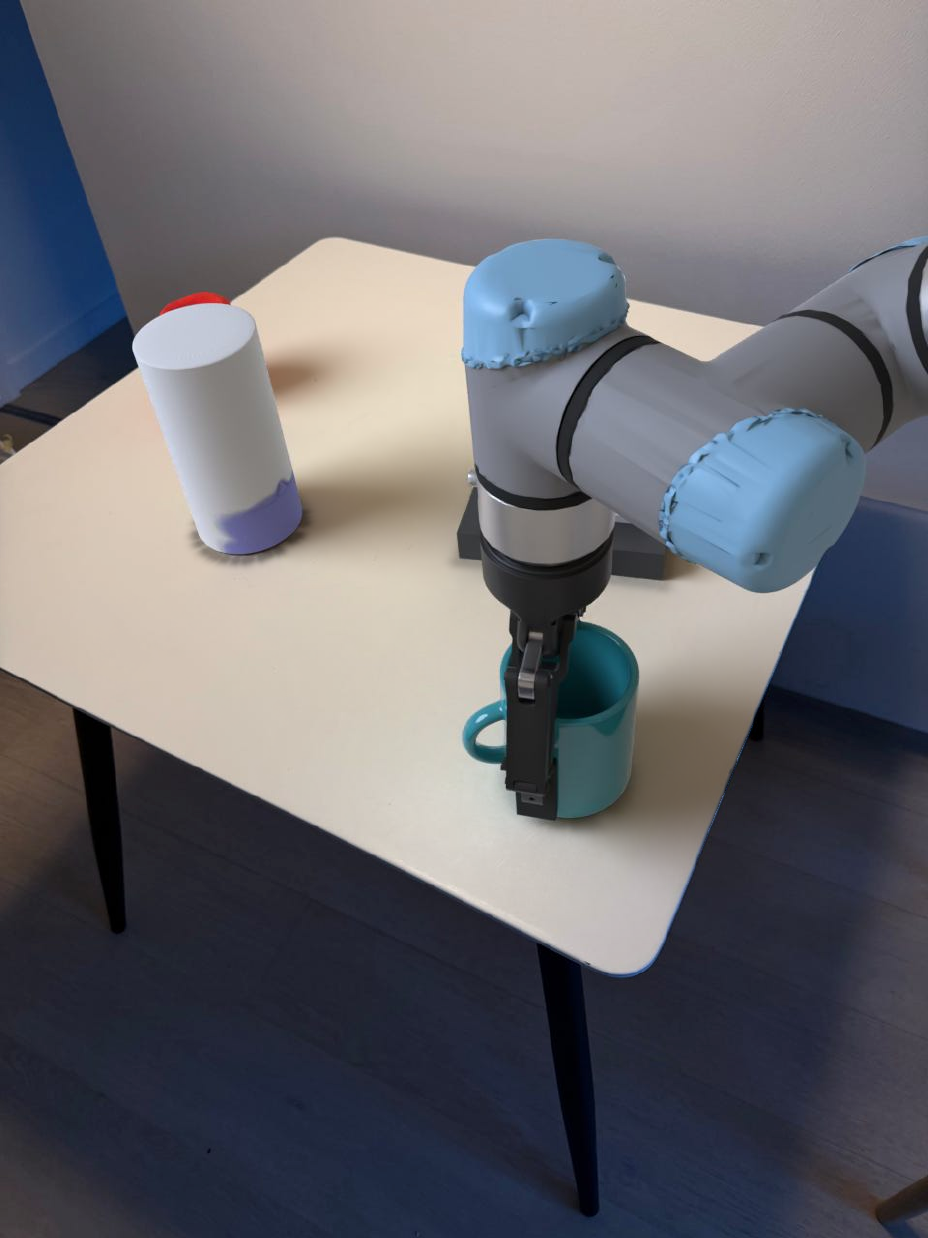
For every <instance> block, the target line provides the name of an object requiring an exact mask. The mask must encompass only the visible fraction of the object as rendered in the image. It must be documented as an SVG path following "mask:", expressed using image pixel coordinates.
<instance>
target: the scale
mask: <svg viewBox="0 0 928 1238" xmlns="http://www.w3.org/2000/svg"><path fill="white" fill-rule="evenodd" d="M480 529H481V528H480V522H479V511H478V489H477V487H472V489H471V492H470V495H469V498H468V500H467V503H466V506H465V508H464V512H463V514H462V518H461V520H460V522H459V525H458V528H457V530H456V531H457V532H456V540H457V549H458V557H459V559H466V560H477V561H482V559H481V547H480ZM667 552H668V547H667V546H666V545H664V544H663V543H661V542H660V541H658V540H656V539H655V538H653V537H652V536H650V535H649V534H647V533H646V532H644V531H643V530H641V529H639V528H638V527H636V526H635V525H633V524H632V523H630V522H629V521H627V520H626V519H624V518H622V517H621V516H619V515H618V514H615V523H614V527H613V552H612V571H611V576H619V577H629V578H639V579H647V580H655V581H663V580H664V574H665V573H664V572H665V566H666V559H667Z"/></svg>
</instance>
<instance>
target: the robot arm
mask: <svg viewBox="0 0 928 1238" xmlns="http://www.w3.org/2000/svg"><path fill="white" fill-rule="evenodd" d="M626 281H627V279H626V276H625V273H624V272H623V270H622V269H621V268H620V267H619V266H618V265H617V263H616V262H615V260H614V258H613V257H612V255H611V254H609V253H608V252H607V251H605V250H603V249H602V248H600V247H597V246H594V245H593V244H589V243H586V242H582V241H578V240H571V239H563V238H543V239H532V240H527V241H522V242H519V243H518V242H517V243H514V244H512V245H509V246H507V247H504V249H502V250H500V251H498V252H496V253H494V254H490V255H489V256H487V257H485V258H484V259H483V260H482V261H480V263H478V264H477V265H476V266H475V267H474V269H473V270H472V271H471V273H470V274H469V276H468V277H467V279H466V282H465V285H464V288H463V295H462V296H463V297H462V325H463V326H462V336H463V337H462V339H463V341H462V342H463V343H462V345H463V346H462V348H461V352H460V356H461V361H462V362H463V364H464V373H465V383H466V393H467V403H468V413H469V425H470V434H471V435H470V436H471V444H472V456H473V463H474V468H470V469H469V470H468V472H467V474H466V477H465V481H466V484H467V485H468V486H469V487H472V488H473V487H477V489H478V511H479V522H480V528H481V529H480V547H481V559H482V560H481V569H482V570H481V571H482V577H483V581H484V583H485V586H486V588H487V590H488V591H489V592H490V594H491V596H493V597H494V598H495V600H497V601H498V602H499V603H500V604H501V605H503V606H504V607H506V608H507V609H508V610H510V612H509V621H508V622H509V623H508V632H509V634H510V636H511V638H512V639H511V640H512V641H511V643H512V653H511V666H508V667H507V668H506V672H505V673H504V681H505V691H506V699H507V725H506V757H504V759H503V761H502V763H501V764H499V767H500V768H499V769H500V771H503V772H505V778H504V785H505V791H508V792H515V807H516V808H515V809H516V815H517V816H522V817H529V818H535V819H541V820H545V821H552V822H556V820H557V817H556V816H557V758H553V753H554V742H555V720H556V718H557V706H558V694H559V683H561V682H563V681H564V680H565V678H566V675H567V673H568V670H569V661H570V649H571V642H572V641H573V638H574V636H575V633H576V628H577V620H578V621H581V619H580V618H583V617H584V615H585V613H586V611H587V607H588V606H589V605H591V604H593V603H594V602H595V601H596V600H597V599H598V598H599V597H600V596H601V595H602V594H603V592H605V590H606V588H607V586H608V584H609V583H610V580H611V576H612V575H611V571H612V552H613V527H614V523H615V514H618V515H619V516H621V517H622V518H624V519H626V520H627V521H629V522H630V523H632V524H633V525H635V526H636V527H638V528H639V529H641V530H643V531H644V532H646V533H647V534H649V535H650V536H652V537H653V538H655V539H656V540H658V541H660V542H661V543H663V544H664V545H666V546H667V548H668V549H669V550H670V552H671V553H672V554H673V555H676V556H677V557H679V558H681V559H683V560H684V561H685V562H687V563H690V564H694V565H699V566H701V567H703V568H704V569H706V570H709V571H710V572H712V573H714V574H716V575H717V576H718V577H721V578H723V579H725V580H727V581H728V582H731V583H732V584H733V585H736V586H738V587H739V588H742V589H743V590H746V591H747V592H752V593H755V594H770V593H776V592H779V591H782V590H785V589H787V588H789V587H791V586H794V585H795V584H797V583H798V582H799V581H801V580H802V579H803V578H804V577H806V576H807V575H809V573H811V572H812V571H813V570H814V569H815V568H816V567H817V566H818V564H819V563H820V561H821V559H822V557H823V556H824V554H825V553H826V551H827V550H828V549H829V548H831V547H833V546H835V544H836V543H837V541H838V540H839V539H840V537H841V536H842V534H843V532H844V531H845V529H846V528H847V526H848V524H849V522H850V521H851V518H852V517H853V515H854V513H855V511H856V509H857V506H858V504H859V501H860V498H861V495H862V492H863V489H864V487H865V483H866V476H867V459H866V454H867V453H868V452H870V451H871V450H873V449H874V448H875V447H877V446H878V445H879V444H881V443H882V442H883V441H885V440H886V439H887V438H888V437H890V436H891V435H893V434H894V433H895V432H896V431H898V430H899V429H901V428H902V427H903V426H905V425H907V424H908V423H910V422H912V421H914V420H917V419H920V418H923V417H927V416H928V235H924V236H917V237H914V238H910V239H907V240H904V241H903V242H901V243H899V244H896V245H893V246H890V247H888V248H886V249H883V250H881V251H879V252H877V253H875V254H873V255H872V256H870V257H867V258H866V259H863V260H862V261H860V262H858V263H857V264H855V265H854V266H852V267H851V268H850V269H849V270H848V271H847V272H846V273H845V275H843V276H842V277H840V278H839V279H837V280H836V281H835V282H833V283H831V284H830V285H828V286H827V287H825V288H823V289H822V290H821V291H819V292H818V293H816V294H814V295H813V296H811V297H810V298H808V299H807V300H805V301H804V302H802V303H801V304H800V305H797V306H796V307H795V308H793V309H792V310H790V311H789V312H787V313H786V314H781V315H780V316H778V317H777V318H776V319H775V320H773V321H771V322H769V324H767V325H765V326H763V327H762V328H760V329H759V330H757V331H755V332H754V333H751V335H749V336H747V337H746V338H744V339H742V340H741V341H739V342H738V343H736V344H734V345H733V346H731V347H730V348H728V349H726V350H725V351H723V352H721V353H720V354H719V355H717V356H715V357H714V358H713V359H711V360H707V361H706V360H700V359H698V358H695V357H694V356H692V355H689V354H688V353H685V352H683V351H681V350H679V349H676V348H675V347H672V346H670V345H669V344H666V343H664V342H661V341H659V340H657V339H655V338H654V337H652V336H651V335H648V334H646V333H644V332H643V331H641V330H638V329H636V328H633V327H632V326H630V325H629V324H628V322H627V317H628V313H630V311H629V309H630V307H631V305H630V303H629V301H628V299H627V282H626ZM523 652H524V656H523ZM558 655H559V663H553V662H545V661H542V658H545V659H553V658H555V657H557V656H558Z"/></svg>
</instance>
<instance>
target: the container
mask: <svg viewBox="0 0 928 1238" xmlns="http://www.w3.org/2000/svg"><path fill="white" fill-rule="evenodd" d="M131 346H132V347H131V348H132V352H133V355H134V357H135V360H136V364H137V366H138V369H139V371H140V374H141V378H142V380H143V384H144V385H145V388H146V391H147V394H148V397H149V399H150V402H151V406H152V409H153V410H154V411H153V412H154V413H155V416H156V419H157V422H158V424H159V427H160V430H161V433H162V436H163V438H164V441H165V444H166V447H167V449H168V453H169V455H170V458H171V461H172V464H173V466H174V469H175V472H176V475H177V477H178V481H179V484H180V486H181V489H182V491H183V494H184V497H185V500H186V503H187V505H188V508H189V511H190V513H191V516H192V519H193V522H194V524H195V528H196V530H197V533H198V535H199V538H200V540H201V541H202V542H203V543H204V544H205V545H206V546H207V547H208V548H210V549H212V550H214V551H217V552H220V553H224V554H229V555H247V554H253V553H259V552H262V551H264V550H268V549H270V548H273V547H274V546H276V545H278V544H280V543H282V542H283V541H285V540H286V539H287V538H288V537H290V536H291V535H292V534H293V533H294V532H295V530H296V529H298V527H299V525H300V523H301V520H302V518H303V506H302V501H301V498H300V494H299V490H298V486H297V483H296V482H297V481H296V478H295V474H294V470H293V465H292V462H291V457H290V454H289V449H288V446H287V442H286V438H285V433H284V431H283V426H282V422H281V418H280V414H279V411H278V410H279V409H278V407H277V406H278V405H277V403H276V398H275V395H274V390H273V386H272V382H271V378H270V373H269V371H268V366H267V362H266V359H265V355H264V351H263V347H262V342H261V338H260V335H259V331H258V326H257V323H256V320H255V318H254V316H252V314H251V313H249V311H247V310H245V309H243V308H242V307H239V306H235V305H232V304H231V305H228V304H219V303H206V304H197V305H191V306H186V307H182V308H178V309H175V310H172V311H170V312H167V313H165V314H163V315H161V316H156V317H155V318H153V319H151V320H150V321H148V323H146V324H145V325H143V326H142V327H141V329H140V330H139V331H138V332H137V334H136V335H135V336H134V338H133V341H132V345H131Z"/></svg>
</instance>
